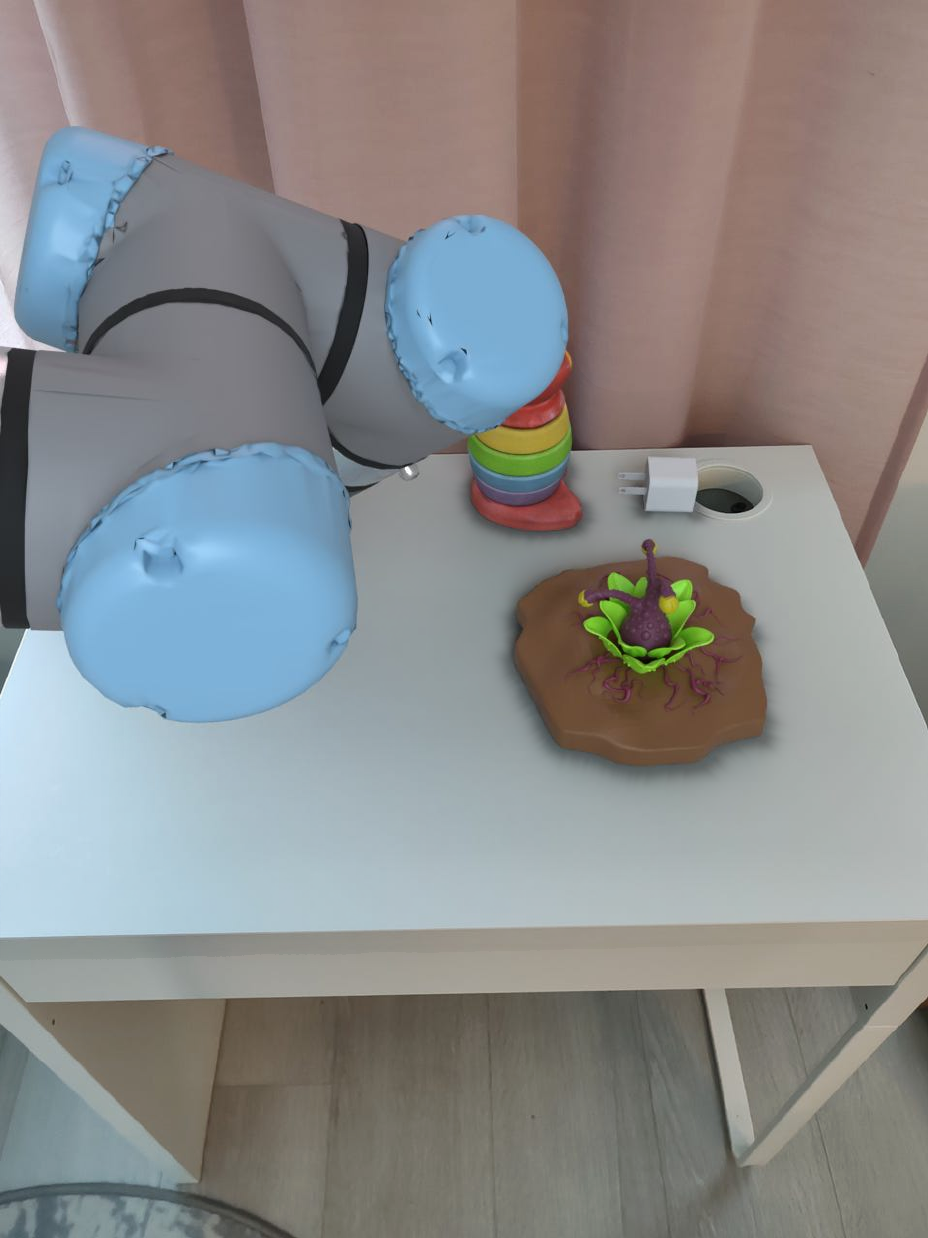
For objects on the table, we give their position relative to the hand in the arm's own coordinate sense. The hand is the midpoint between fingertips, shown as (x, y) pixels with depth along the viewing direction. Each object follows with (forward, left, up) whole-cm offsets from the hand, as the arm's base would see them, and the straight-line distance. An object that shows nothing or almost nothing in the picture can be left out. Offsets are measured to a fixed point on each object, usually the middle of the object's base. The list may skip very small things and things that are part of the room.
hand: (220, 502), depth 69 cm
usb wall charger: (+37, +12, -17) cm, 43 cm away
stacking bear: (+25, +15, -17) cm, 34 cm away
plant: (+30, -7, -17) cm, 36 cm away
